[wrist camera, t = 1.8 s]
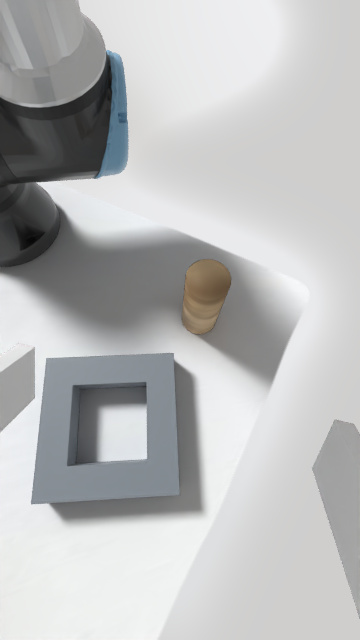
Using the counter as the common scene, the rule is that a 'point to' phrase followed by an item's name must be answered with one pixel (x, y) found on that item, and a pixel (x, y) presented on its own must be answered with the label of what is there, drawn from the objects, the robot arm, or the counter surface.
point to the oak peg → (204, 295)
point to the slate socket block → (62, 431)
